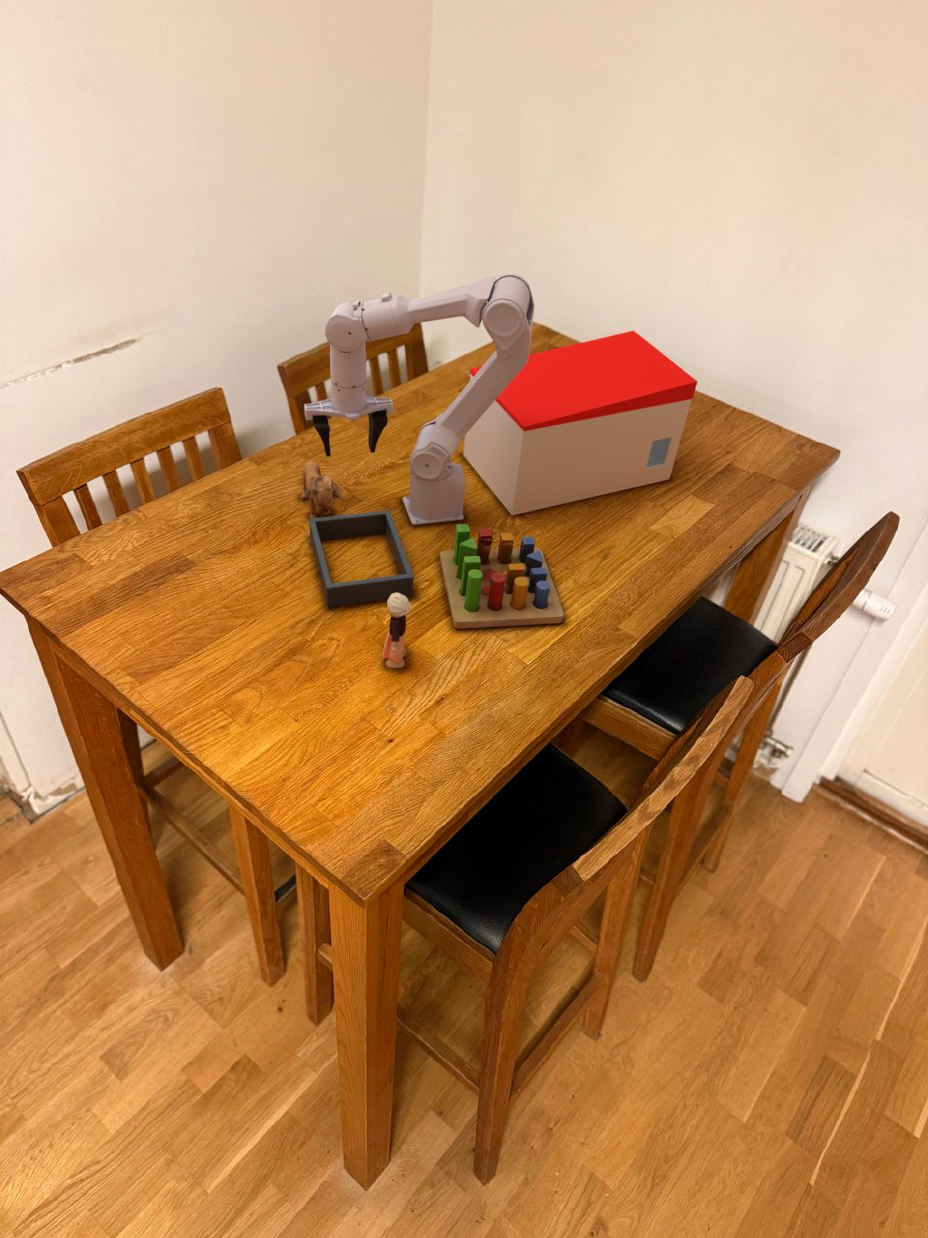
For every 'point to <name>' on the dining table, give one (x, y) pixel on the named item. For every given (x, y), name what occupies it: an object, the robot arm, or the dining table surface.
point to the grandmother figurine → (396, 630)
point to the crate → (368, 587)
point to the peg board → (498, 582)
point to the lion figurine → (318, 489)
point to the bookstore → (582, 423)
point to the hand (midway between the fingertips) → (349, 451)
